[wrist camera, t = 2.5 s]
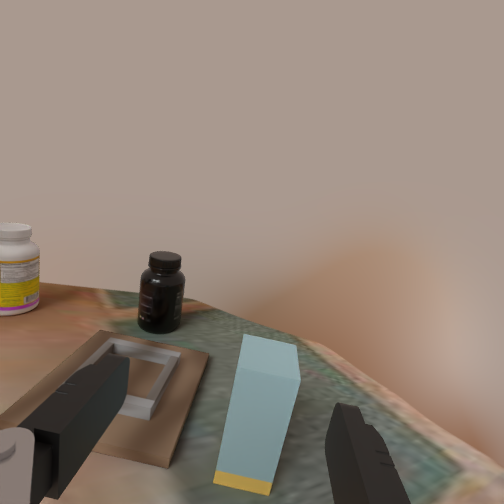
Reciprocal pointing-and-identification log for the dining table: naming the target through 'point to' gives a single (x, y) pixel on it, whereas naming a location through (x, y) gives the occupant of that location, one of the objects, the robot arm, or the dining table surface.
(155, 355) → the socket board
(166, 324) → the supplement bottle
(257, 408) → the peg
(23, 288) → the supplement bottle
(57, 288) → the dining table surface
